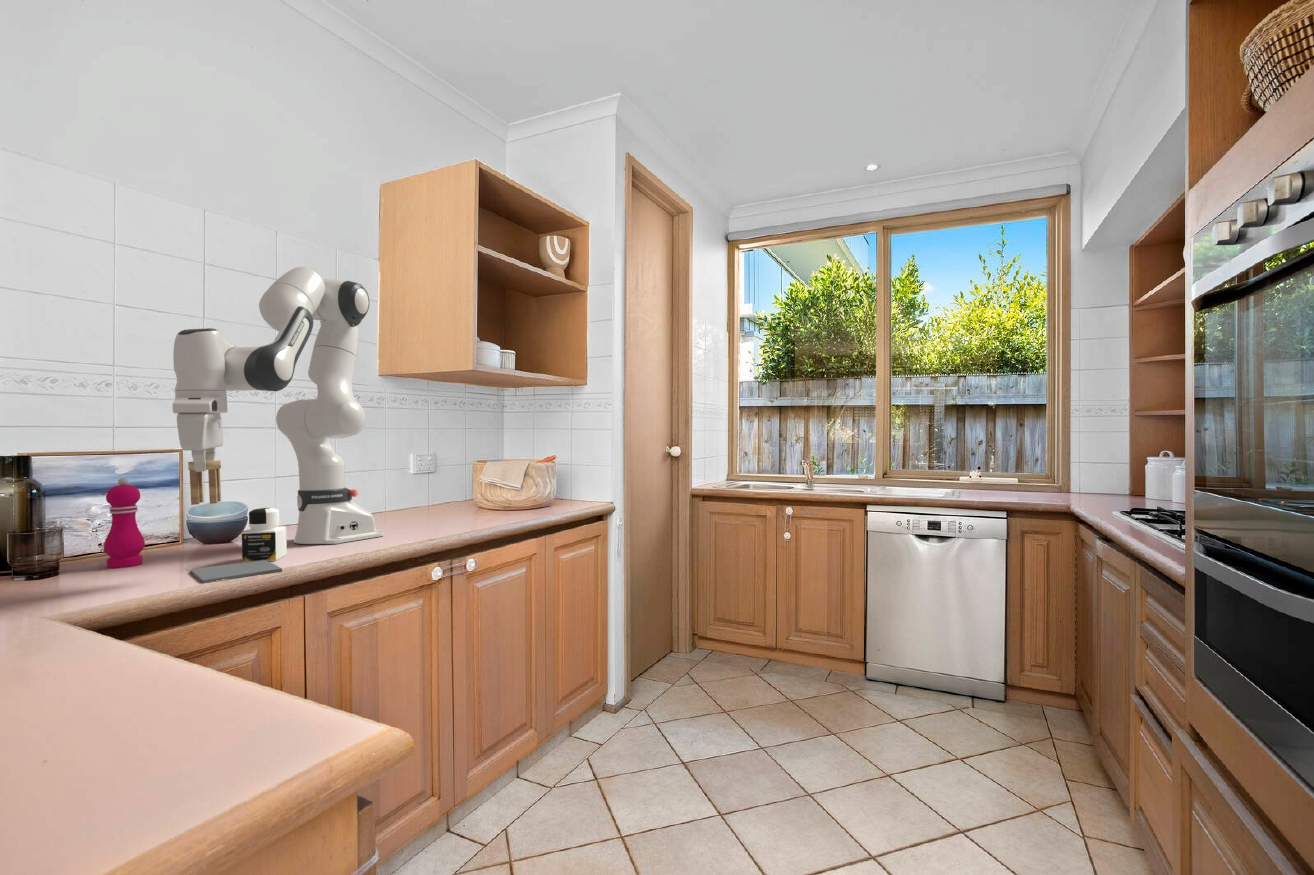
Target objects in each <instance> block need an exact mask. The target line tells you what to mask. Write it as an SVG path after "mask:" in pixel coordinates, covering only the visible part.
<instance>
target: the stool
mask: <svg viewBox="0 0 1314 875" xmlns="http://www.w3.org/2000/svg"><path fill="white" fill-rule="evenodd" d="M206 463H207V470H206V471H207V472H208V474H207V475H208V476H207V478H208V493H209V504H218V503H219V502H221V501H222V489H221V487H222V486H221V468H222V462H221V460H217V459H214V460H212V461H206ZM187 468H188V471H189V485H190V486H189V488H190V489H189V490H190V505H191V506H193V505H194V506H195V505H200V504H201V503H204V488H203V486H204V485H203V484H204V483H203V472H196V471H195V465H194V461H188V464H187Z"/></svg>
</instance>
